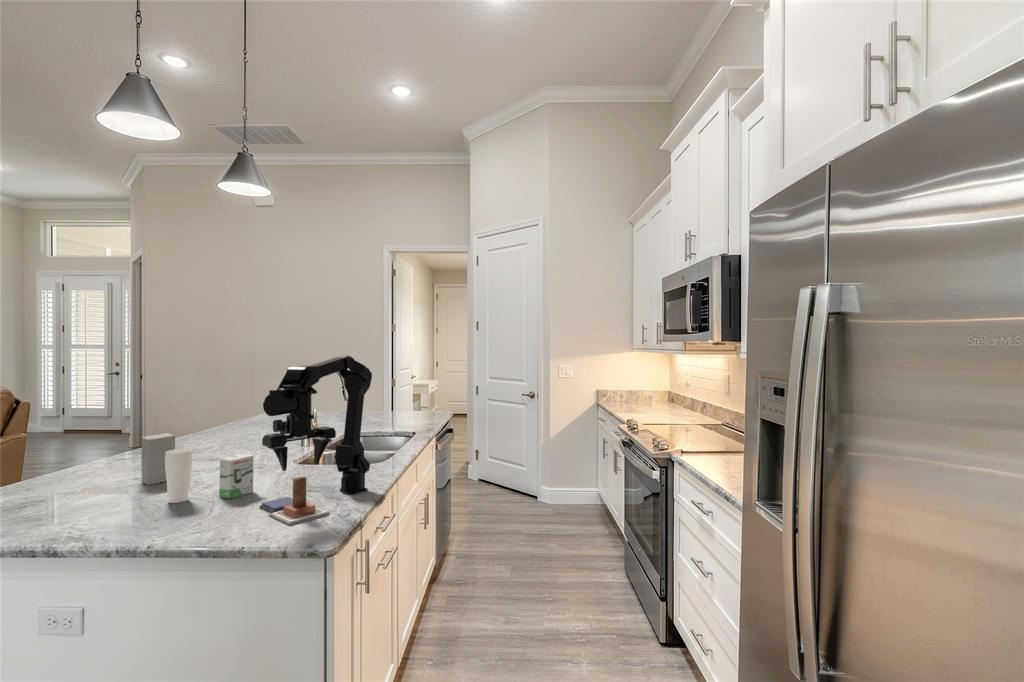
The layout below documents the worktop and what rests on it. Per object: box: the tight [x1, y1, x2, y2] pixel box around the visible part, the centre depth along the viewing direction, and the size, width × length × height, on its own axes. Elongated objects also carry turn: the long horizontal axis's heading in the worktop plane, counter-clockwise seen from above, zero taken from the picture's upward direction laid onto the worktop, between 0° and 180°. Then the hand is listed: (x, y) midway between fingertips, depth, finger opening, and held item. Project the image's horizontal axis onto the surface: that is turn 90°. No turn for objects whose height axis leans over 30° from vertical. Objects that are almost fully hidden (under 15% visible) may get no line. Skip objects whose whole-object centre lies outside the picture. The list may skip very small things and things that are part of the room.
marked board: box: [268, 506, 330, 526], centre depth 139 cm, size 11×11×1 cm
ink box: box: [218, 453, 254, 500], centre depth 158 cm, size 9×5×12 cm, turn 159°
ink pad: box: [259, 496, 293, 514], centre depth 145 cm, size 8×8×2 cm
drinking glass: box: [165, 448, 193, 504], centre depth 151 cm, size 7×7×15 cm
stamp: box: [283, 476, 316, 518], centre depth 139 cm, size 6×6×10 cm
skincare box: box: [141, 432, 176, 486], centre depth 173 cm, size 8×7×16 cm
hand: (300, 467), depth 141 cm, fingers open, 9 cm apart
